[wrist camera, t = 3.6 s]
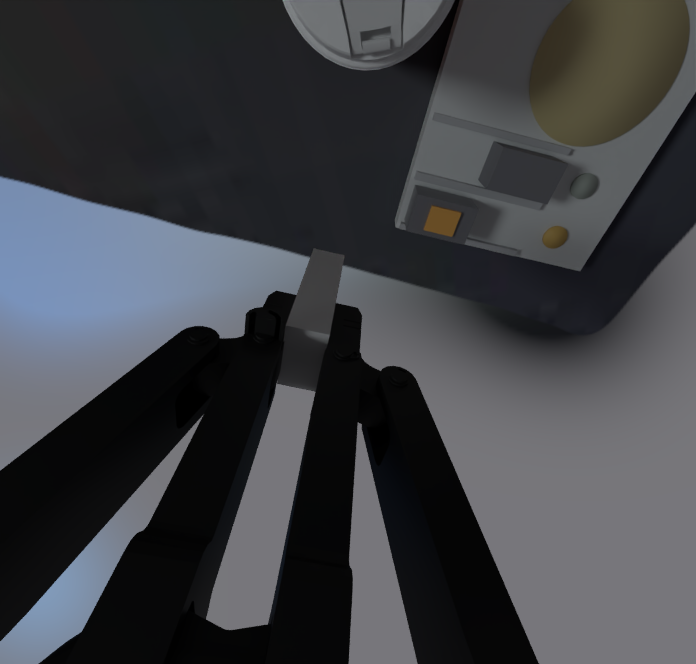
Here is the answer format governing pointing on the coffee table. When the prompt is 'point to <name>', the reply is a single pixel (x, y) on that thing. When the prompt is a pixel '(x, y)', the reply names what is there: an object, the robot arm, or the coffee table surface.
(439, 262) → the coffee table surface
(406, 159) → the coffee table surface
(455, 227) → the tagged breaker
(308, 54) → the coffee table surface
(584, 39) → the panel
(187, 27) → the coffee table surface
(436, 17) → the coffee cup
